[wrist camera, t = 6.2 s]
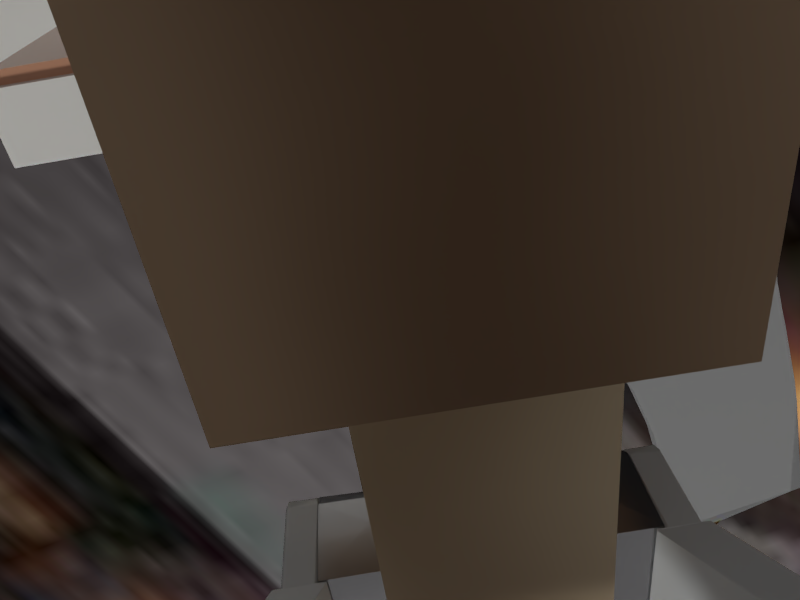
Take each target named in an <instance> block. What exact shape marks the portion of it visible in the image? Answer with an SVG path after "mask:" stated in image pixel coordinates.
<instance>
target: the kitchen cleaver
mask: <svg viewBox="0 0 800 600" xmlns="http://www.w3.org/2000/svg"><path fill="white" fill-rule="evenodd" d="M627 384H628V385H629V387H630V389H631V392H632V394H633V396H634V398H635V400H636V402H637V404H638V406H639V408H640V410H641V413H642V415H643V417H644V419H645V421H646V423H647V426H648V429H649V433H650V436H651V440H652V444H653V445H655V446H656V447H657V448H659V449H660V451H661V453H662V454H663V456H664V458H665V460H666V461H667V463H668V465H669V467H670V468H671V470H672V472H673V474H674V475H675V477H676V479H677V480H678V482H679V484H680V486H681V487H682V489H683V491H684V493H685V494H686V496H687V498H688V500H689V501H690V503H691V505H692V507H693V508H694V510H695V512H696V513H697V515H698V517H699V519H700V520H701V522H704V521H712V522H714V523H715V524H717V523H718V522H719V521H721V520H723V519H725V518H728V517H730V516H733V515H735V514H737V513H740V512H742V511H744V510H747V509H749V508H752V507H754V506H756V505H759V504H761V503H763V502H766V501H768V500H771V499H773V498H775V497H778V496H780V495H782V494H785V493H787V492H790V491H792V490H795V489H798V488H800V461H799V438H798V419H797V400H796V390H795V380H794V374H793V368H792V362H791V357H790V351H789V345H788V339H787V333H786V327H785V321H784V317H783V312H782V306H781V300H780V294H779V289H778V283H777V277H776V282H775V288H774V294H773V300H772V305H771V311H770V317H769V322H768V328H767V334H766V340H765V345H764V351H763V357H762V362H755V363H749V364H743V365H736V366H730V367H724V368H717V369H711V370H705V371H698V372H692V373H685V374H679V375H673V376H666V377H660V378H654V379H647V380H641V381H635V382H628V383H627Z"/></svg>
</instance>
